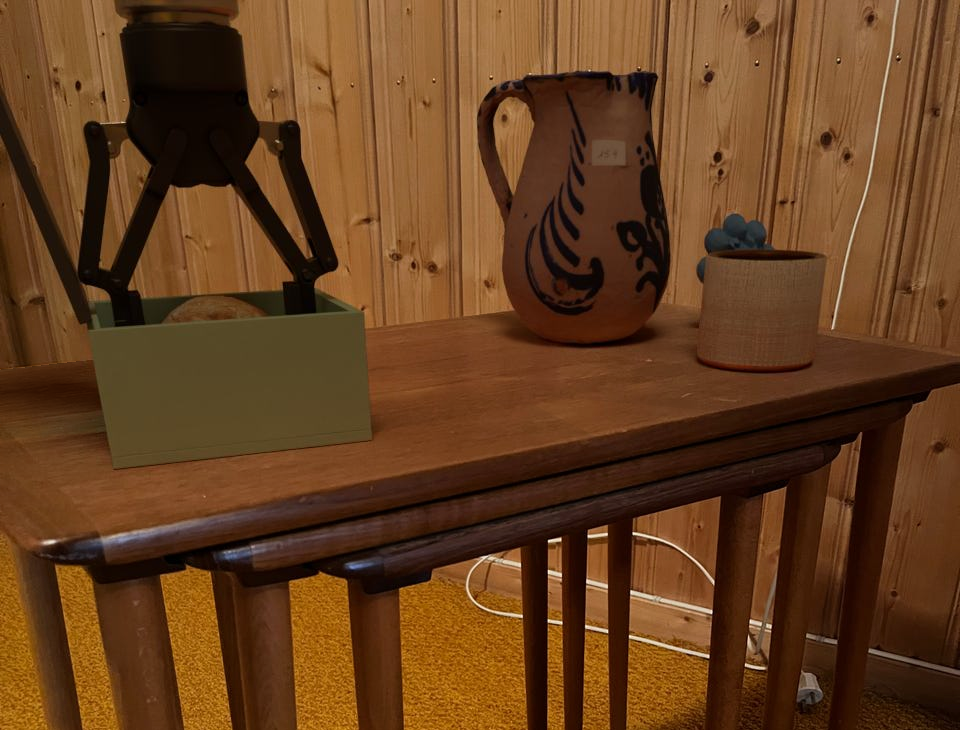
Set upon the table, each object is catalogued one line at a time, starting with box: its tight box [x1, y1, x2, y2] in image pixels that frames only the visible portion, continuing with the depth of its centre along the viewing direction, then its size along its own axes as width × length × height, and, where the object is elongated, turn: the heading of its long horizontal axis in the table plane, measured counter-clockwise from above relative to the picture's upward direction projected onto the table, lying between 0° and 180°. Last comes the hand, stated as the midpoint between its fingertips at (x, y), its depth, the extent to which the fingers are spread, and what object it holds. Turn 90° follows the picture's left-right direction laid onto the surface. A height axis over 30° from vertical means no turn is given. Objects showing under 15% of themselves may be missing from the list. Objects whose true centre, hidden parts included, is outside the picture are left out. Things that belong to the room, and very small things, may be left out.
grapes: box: [696, 212, 776, 285], centre depth 108 cm, size 12×7×12 cm, turn 120°
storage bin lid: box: [0, 83, 92, 325], centre depth 61 cm, size 18×15×1 cm
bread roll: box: [162, 295, 270, 324], centre depth 70 cm, size 10×10×8 cm
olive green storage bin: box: [85, 287, 373, 470], centre depth 71 cm, size 18×15×9 cm
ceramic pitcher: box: [476, 70, 672, 345], centre depth 101 cm, size 18×21×25 cm
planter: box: [696, 249, 828, 373], centre depth 91 cm, size 11×11×10 cm
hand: (226, 381), depth 71 cm, fingers closed on bread roll, 10 cm apart
